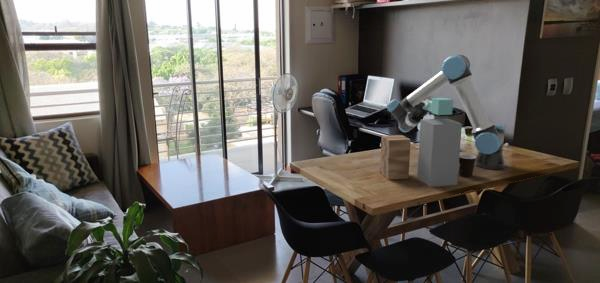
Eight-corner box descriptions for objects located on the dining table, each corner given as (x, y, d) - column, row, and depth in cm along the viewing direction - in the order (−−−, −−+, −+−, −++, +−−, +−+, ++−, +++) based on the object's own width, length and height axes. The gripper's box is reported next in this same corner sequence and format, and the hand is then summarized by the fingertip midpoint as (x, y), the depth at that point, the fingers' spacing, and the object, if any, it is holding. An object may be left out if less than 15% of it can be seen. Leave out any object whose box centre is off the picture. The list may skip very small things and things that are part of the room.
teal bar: (418, 108, 228) (419, 94, 226) (431, 108, 229) (432, 94, 228) (438, 115, 208) (439, 100, 206) (452, 114, 209) (453, 99, 207)
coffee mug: (472, 178, 223) (474, 159, 221) (454, 176, 228) (456, 157, 226) (477, 173, 233) (478, 154, 231) (460, 170, 237) (461, 152, 235)
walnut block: (380, 173, 234) (381, 135, 229) (400, 171, 236) (401, 134, 231) (387, 179, 223) (389, 140, 219) (408, 178, 225) (410, 139, 221)
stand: (417, 178, 225) (420, 119, 219) (443, 176, 228) (447, 118, 221) (429, 186, 212) (433, 124, 205) (457, 185, 214) (461, 123, 207)
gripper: (430, 123, 242) (450, 107, 220) (400, 124, 240) (417, 108, 218) (428, 110, 245) (447, 93, 223) (398, 111, 242) (415, 94, 220)
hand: (432, 101), depth 220 cm, fingers closed on teal bar, 4 cm apart
